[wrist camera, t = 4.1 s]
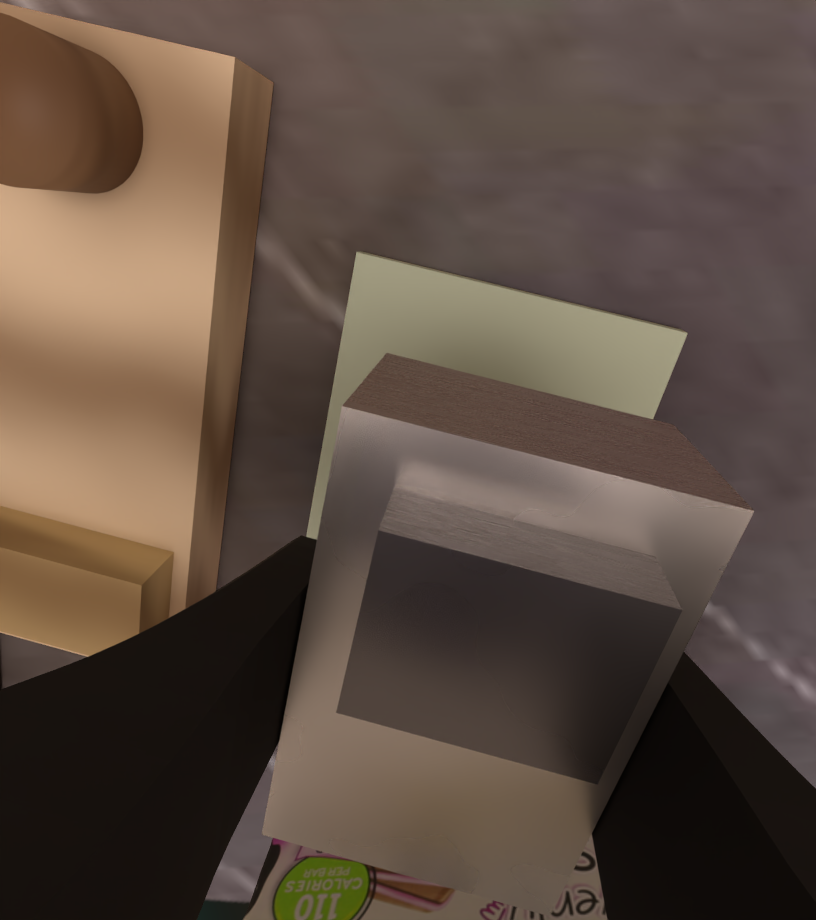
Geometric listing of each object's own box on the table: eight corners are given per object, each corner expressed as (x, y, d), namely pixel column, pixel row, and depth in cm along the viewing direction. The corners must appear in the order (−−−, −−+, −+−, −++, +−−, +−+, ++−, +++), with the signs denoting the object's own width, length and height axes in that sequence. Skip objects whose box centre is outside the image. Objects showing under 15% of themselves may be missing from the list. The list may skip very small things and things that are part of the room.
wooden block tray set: (210, 634, 22) (139, 738, 18) (33, 586, 22) (-82, 676, 18) (273, 82, 15) (181, 22, 11) (16, 22, 16) (-180, -62, 11)
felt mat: (573, 597, 20) (576, 608, 19) (311, 528, 20) (306, 537, 19) (680, 329, 16) (687, 333, 16) (361, 251, 16) (356, 251, 16)
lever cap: (535, 753, 12) (556, 995, 8) (315, 692, 12) (235, 902, 8) (673, 424, 9) (800, 559, 5) (386, 353, 9) (317, 435, 6)
